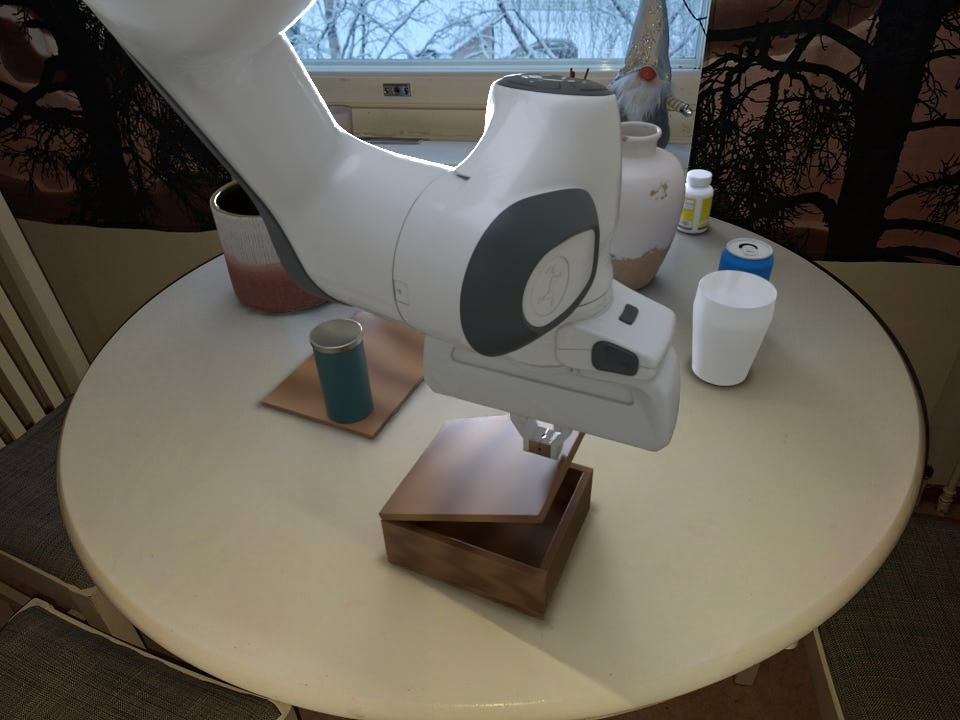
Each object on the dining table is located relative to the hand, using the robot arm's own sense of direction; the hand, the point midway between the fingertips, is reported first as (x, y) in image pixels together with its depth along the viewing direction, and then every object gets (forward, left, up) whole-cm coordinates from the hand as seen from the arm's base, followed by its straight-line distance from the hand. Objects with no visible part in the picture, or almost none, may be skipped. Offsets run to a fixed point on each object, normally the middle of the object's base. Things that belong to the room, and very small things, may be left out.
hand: (543, 450), depth 57 cm
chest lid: (0, +5, -4) cm, 6 cm away
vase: (+54, +7, -13) cm, 56 cm away
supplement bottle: (+75, 0, -13) cm, 76 cm away
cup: (+35, -11, -13) cm, 39 cm away
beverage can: (+46, -11, -13) cm, 49 cm away
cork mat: (+18, +31, -13) cm, 38 cm away
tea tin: (+10, +28, -12) cm, 32 cm away
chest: (0, +5, -13) cm, 14 cm away
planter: (+32, +53, -13) cm, 63 cm away
